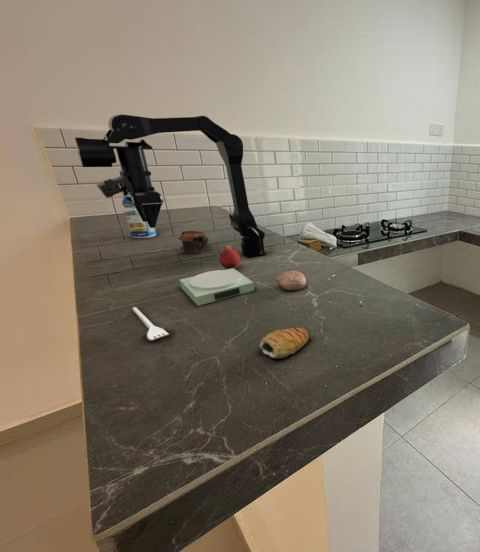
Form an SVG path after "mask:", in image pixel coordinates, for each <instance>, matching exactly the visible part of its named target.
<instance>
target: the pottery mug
mask: <svg viewBox="0 0 480 552" xmlns="http://www.w3.org/2000/svg"><path fill="white" fill-rule="evenodd" d="M178 240H179V241H181V243H182V246H180V247H179V251H180V254H198V250H200V251H204V250H205V249H206V247H207V246H208V244H209V237H208V236H207V234H206V233H205V232H204V231H201V230H199V231H198V230H183V231H182V232H181V235H180V236H179V238H178Z"/></svg>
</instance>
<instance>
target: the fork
mask: <svg viewBox="0 0 480 552" xmlns="http://www.w3.org/2000/svg"><path fill="white" fill-rule="evenodd" d="M132 311H133V312H134V313H135V315H136V316H138V319H140V320H141V321H142V323H143V324H144V325H145V326H146V328H147V329H148V331H147V333H146V338H147V340H149V341H155V340H157V339H161V338H163V337H167V336H169V335H170V333H168V332H167V331H166V330H165V329H164V328H162V327H159V326H156V325H154V324H153V323H152V321H151V320H149V319H148V318H147V317H146V316H145V315H144V314H143V313H142V312H141V310H139V309H138V308H137V306H134V307H132Z"/></svg>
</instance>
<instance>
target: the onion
mask: <svg viewBox="0 0 480 552" xmlns="http://www.w3.org/2000/svg"><path fill="white" fill-rule="evenodd" d="M218 261H219V264H220V265H221V267H223V268H224V269H225V270H227V269H231V268H234V269H236V268H238V267H239V265H240V263H241V256H240V254H239V253H238V252H237V250H235V249H233V248H232V246H231V245H226V246H225V248H224V249H223V250H222V251H221V253H220V254H219V256H218Z"/></svg>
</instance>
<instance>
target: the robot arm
mask: <svg viewBox="0 0 480 552" xmlns="http://www.w3.org/2000/svg"><path fill="white" fill-rule="evenodd" d="M107 125H108V130H107V132H106V133H105V134H104V137H103V138H85V137H78V136H77V137H76V136H75V137H74V141H75V145H76V150H77V151H76V152H77V153H76V154H77V157H78V160H79V162H80V165H81V167H82V168H112V167H113V164H117V159H118V163H119V166H120V170H119V176H117V177H113V178H108V179H106V180H103V181H102V182H99V183H96V186H97V188H98V190H99V191H100V192H101V193H102V194H103V196H104V197H105V198H107V199H108V198H109V199H110V198H113V197H114V195H118V194H121V195H122V196H123V197H124V196H125V198H126V199H127V200H129V201H131V202H132V203H133V205H134V206H135V208H136V210H137V211H138V213H139V215H140V217H141V219H142V221H143V222H146V221H147V223H148V225H149V227H150V228H155V229H156V225H157V222H158V218H159V215H160V211H161V209H162V206H163V203H164V198H163V194H161V193H160V192H158V191H156V189H155V186H153V183H152V179H151V176H152V172H151V171H150V170H149V167H148V162H147V157H146V153H145V150H153V146H152V145H150V144H149V143H147V142H146V140H145V139H144V138H145V137H148V136H152V135H157V134H166V133H182V132H198V131H200V132H201V133H202V134H203V135H205V137H207V139H209V140H210V141H211V142H213V143H214V144H215V145H216V148H217V151H218V154H219V155H220V158H221V159H222V162H223V163H224V165H225V168H226V169H225V170H226V174H227V179H228V184H229V188H230V194H231V199H232V204H233V212H232V213H228V217H229V220H230V226H231V227H232V229H234V231H236V232H237V233H239V235H240V236H241V241H240V248H241V254H242V255H244V256H245V257H246V258H254V257H259V256H260V257H261V256H265V255H268V253H267V252H266V251H265V244H264V239H265V236H266V233H265V232H264V231H263V230H262V229H260V228H259V227H258V224H257V222H256V219H255V217H254V214H253V213H252V211H251V209H250V207H249V201H248V196H247V190H246V184H245V179H244V173H243V167H242V162H243V157H244V143H243V140H242V139H241V137H239V136H238V135H237V134H236V133H235V134H234V133H230V132H229V131H228V130H226V129H225V128H223V127H222V126H220V125H218V124H217V123H215V122H214V121H213V120H212V119H210V118H209V117H208V116H206V115H196V116H184V117H181V116H180V117H155V118H152V117H145V116H138V115H131V114H116V115H112V116H111V117H110V118H109V119H108V122H107ZM142 138H143V139H142ZM136 139H139V141H133V140H136ZM125 140H130V141H125ZM131 140H132V141H131ZM123 141H124V145H110V144H120V143H122V142H123ZM114 149H115V150H116V151H115V150H114ZM115 152H116V153H115ZM116 154H117V156H116ZM127 195H128V196H127Z"/></svg>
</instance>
